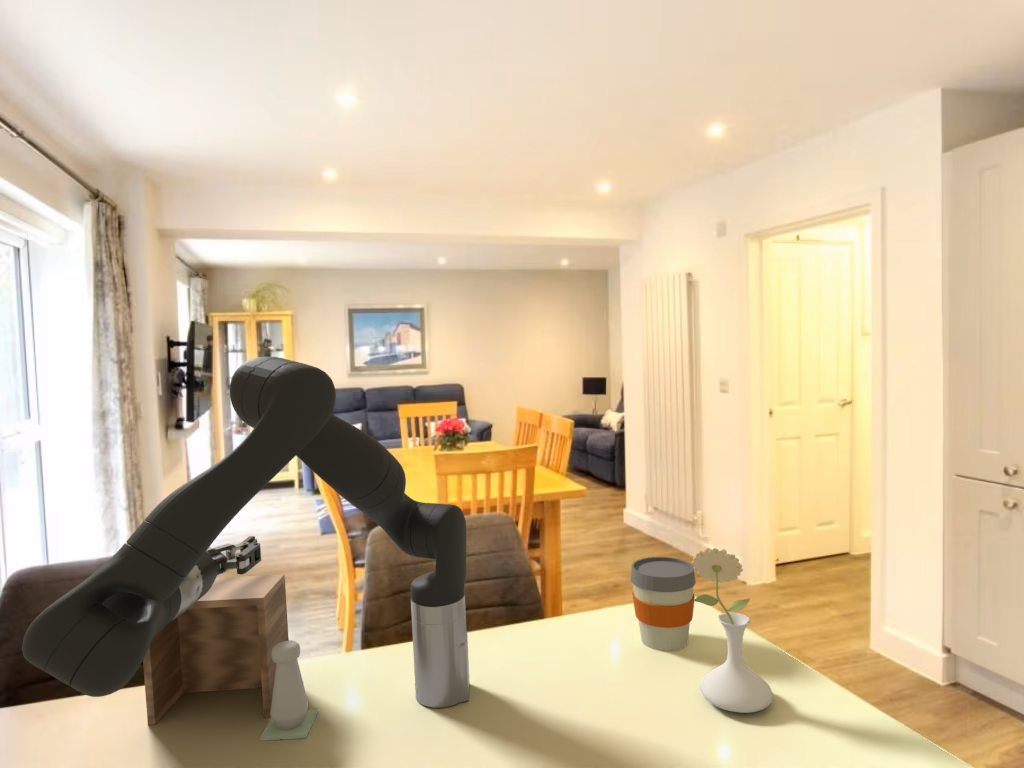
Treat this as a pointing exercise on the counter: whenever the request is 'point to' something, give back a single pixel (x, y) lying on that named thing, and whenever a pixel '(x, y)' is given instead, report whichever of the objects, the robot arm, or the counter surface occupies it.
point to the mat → (296, 733)
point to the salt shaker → (288, 687)
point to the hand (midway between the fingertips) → (223, 544)
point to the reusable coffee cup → (663, 601)
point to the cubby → (219, 643)
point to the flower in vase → (730, 642)
